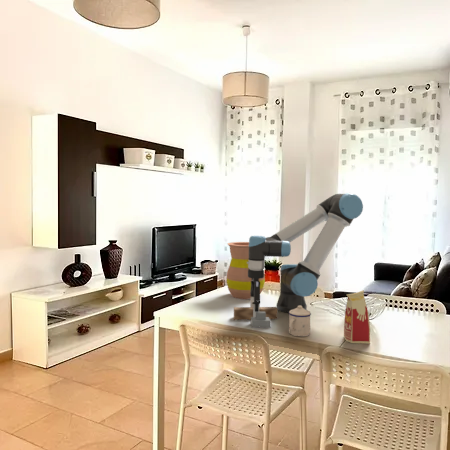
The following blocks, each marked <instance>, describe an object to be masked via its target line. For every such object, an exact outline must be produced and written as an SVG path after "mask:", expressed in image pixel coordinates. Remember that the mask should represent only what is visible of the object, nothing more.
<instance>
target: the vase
mask: <svg viewBox="0 0 450 450" xmlns="http://www.w3.org/2000/svg"><path fill="white" fill-rule="evenodd" d="M227 245H228V246H229V252H230V257H231V260H230V264H229V266H228V269H227V272H226V286H227V289H228V292H229V293H230V296H231V297H232V298H235V299H240V300H251V297H252V296H251V294H250V292H251V281H252V279H251V278H249V277H248V269H249V268H248V264H247V262H249V261H248V260H249V241H233V242H228V243H227ZM265 277H266V276H265V274H264V277H263V278H260V279H259V281H260V295H261V294H262V293H263V292H262V291H263V290H264V287H265V282H266V278H265Z"/></svg>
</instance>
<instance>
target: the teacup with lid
mask: <svg viewBox="0 0 450 450" xmlns="http://www.w3.org/2000/svg"><path fill="white" fill-rule="evenodd" d="M288 314H289V315H288V317H289V318H288V333H289V334H290V335H292V336H295V337H308V336H310V335H311V316H312V313H311V311H310V310H308V309H307V310H305V309H304V308H302V306H300V305H299V306H298V308H295V309H293V310H290V311H289V313H288Z"/></svg>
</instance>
